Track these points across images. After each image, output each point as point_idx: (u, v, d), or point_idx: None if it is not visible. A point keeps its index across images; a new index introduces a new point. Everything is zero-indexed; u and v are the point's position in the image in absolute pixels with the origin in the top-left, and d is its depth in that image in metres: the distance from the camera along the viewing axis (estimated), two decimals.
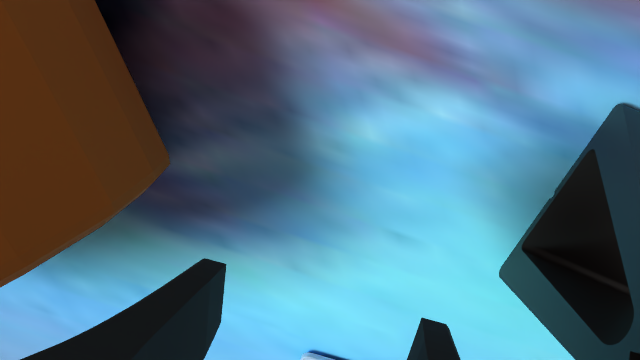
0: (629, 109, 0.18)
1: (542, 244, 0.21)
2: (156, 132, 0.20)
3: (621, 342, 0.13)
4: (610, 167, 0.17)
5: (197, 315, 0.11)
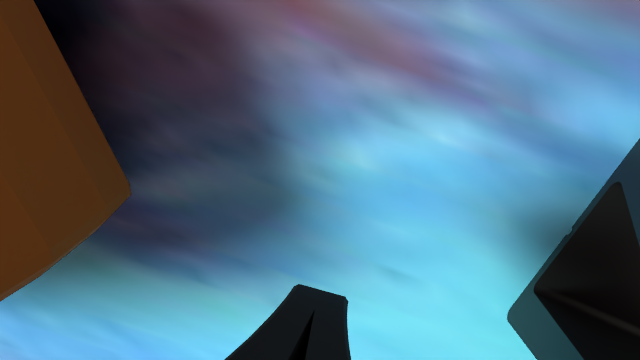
0: None
1: (557, 286, 0.18)
2: (114, 159, 0.18)
3: None
4: None
5: (302, 345, 0.11)
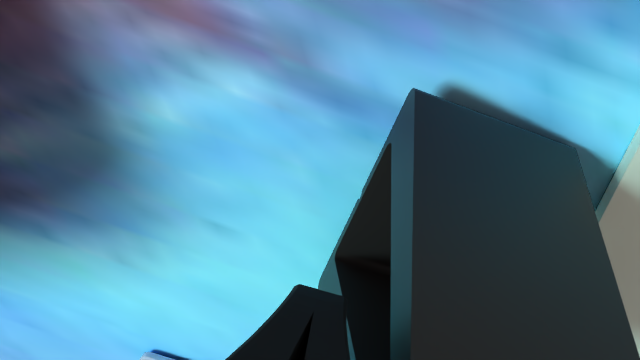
0: (422, 95, 0.15)
1: (357, 250, 0.18)
2: None
3: None
4: (397, 168, 0.14)
5: (303, 346, 0.11)
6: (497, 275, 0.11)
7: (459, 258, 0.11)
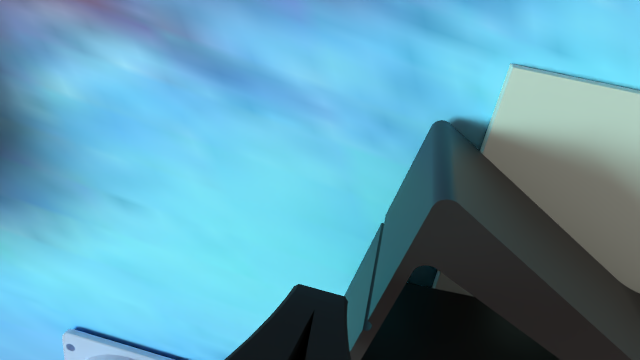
0: (460, 200, 0.11)
1: None
2: None
3: None
4: (500, 294, 0.12)
5: (302, 345, 0.11)
6: (602, 300, 0.14)
7: (610, 321, 0.13)
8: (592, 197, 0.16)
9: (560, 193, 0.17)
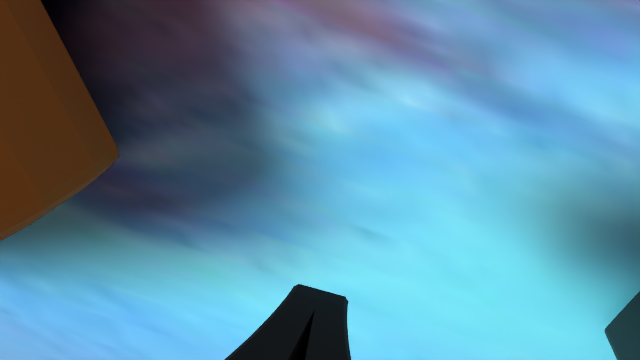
0: None
1: None
2: (102, 122, 0.19)
3: None
4: None
5: (302, 345, 0.11)
6: None
7: None
8: None
9: None
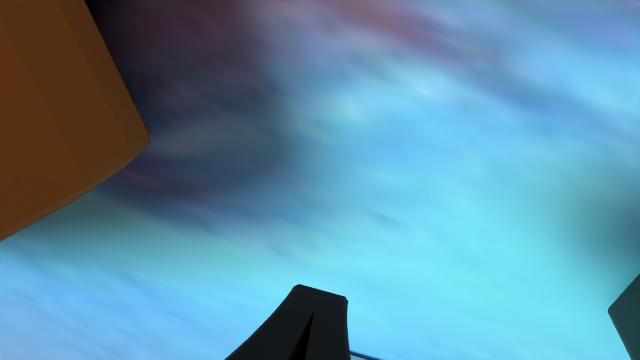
0: None
1: None
2: (135, 110, 0.20)
3: None
4: None
5: (302, 345, 0.11)
6: None
7: None
8: None
9: None
